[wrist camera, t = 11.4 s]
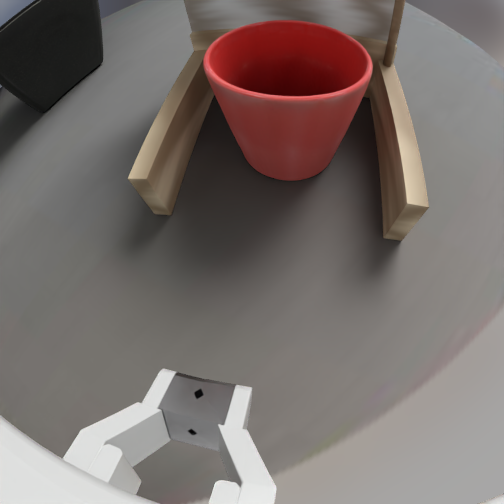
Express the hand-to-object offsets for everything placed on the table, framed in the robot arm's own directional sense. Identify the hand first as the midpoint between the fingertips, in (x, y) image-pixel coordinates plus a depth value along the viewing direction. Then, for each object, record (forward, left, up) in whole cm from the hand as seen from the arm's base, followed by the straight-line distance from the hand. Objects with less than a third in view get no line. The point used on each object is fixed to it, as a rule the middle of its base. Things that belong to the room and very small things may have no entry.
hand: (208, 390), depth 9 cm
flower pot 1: (-37, +35, -10) cm, 52 cm away
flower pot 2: (+1, +18, -10) cm, 21 cm away
